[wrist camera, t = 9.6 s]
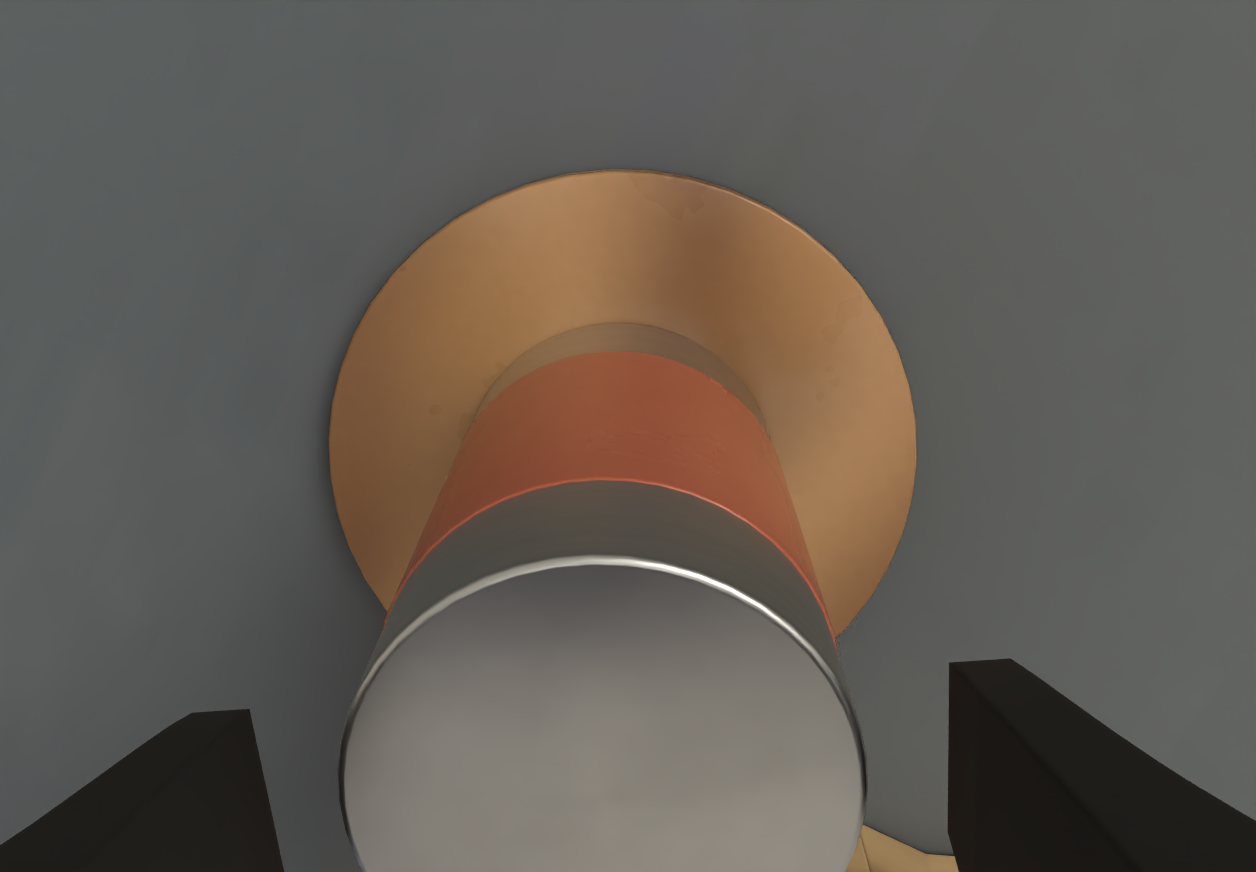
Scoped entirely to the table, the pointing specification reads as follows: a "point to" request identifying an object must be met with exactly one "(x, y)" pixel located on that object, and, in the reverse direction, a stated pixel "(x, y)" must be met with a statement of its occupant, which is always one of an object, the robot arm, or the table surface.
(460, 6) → the table surface
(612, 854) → the can
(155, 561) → the table surface
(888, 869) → the holder
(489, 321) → the coaster
